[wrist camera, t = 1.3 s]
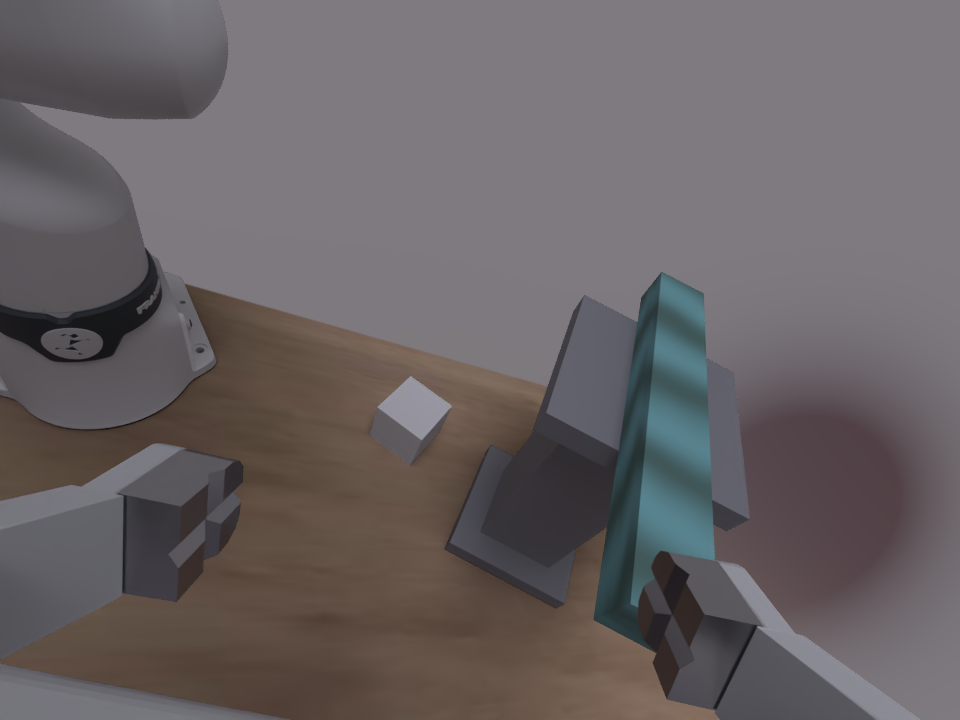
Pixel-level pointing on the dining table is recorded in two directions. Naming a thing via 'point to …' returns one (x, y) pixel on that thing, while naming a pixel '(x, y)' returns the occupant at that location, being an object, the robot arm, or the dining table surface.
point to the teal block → (659, 454)
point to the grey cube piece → (409, 420)
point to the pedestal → (580, 463)
